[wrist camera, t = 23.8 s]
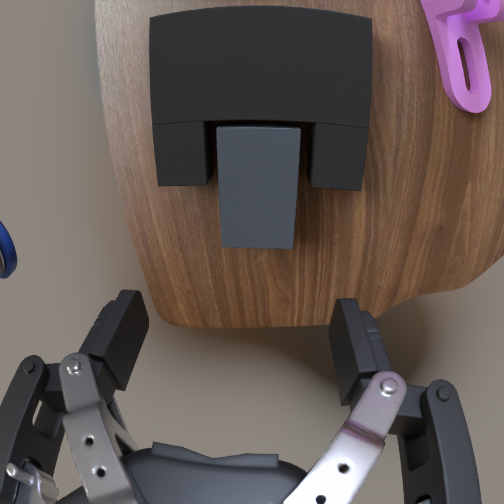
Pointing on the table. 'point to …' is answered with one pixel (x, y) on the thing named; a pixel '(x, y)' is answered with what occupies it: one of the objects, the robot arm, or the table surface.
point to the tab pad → (258, 184)
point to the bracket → (467, 33)
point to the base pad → (260, 85)
